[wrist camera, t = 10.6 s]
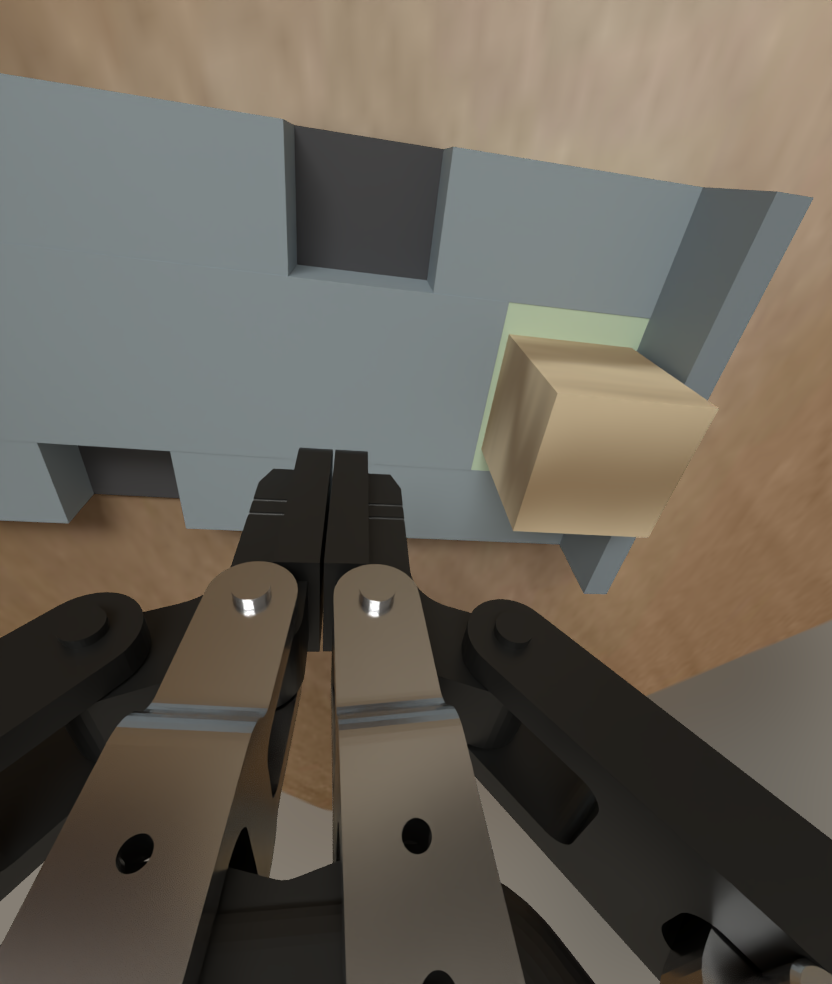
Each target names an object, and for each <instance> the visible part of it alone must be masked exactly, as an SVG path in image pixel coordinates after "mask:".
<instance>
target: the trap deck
mask: <svg viewBox="0 0 832 984" xmlns="http://www.w3.org/2000/svg"><path fill="white" fill-rule="evenodd" d="M812 200H813V198H812V197H806V196H800V195H794V194H788V193H782V192H773V191H756V190H739V189H722V188H705V187H698V186H692V185H685V184H679V183H673V182H667V181H661V180H655V179H648V178H642V177H636V176H630V175H624V174H618V173H611V172H605V171H599V170H593V169H587V168H581V167H574V166H568V165H562V164H556V163H550V162H544V161H537V160H531V159H525V158H519V157H513V156H507V155H500V154H494V153H488V152H482V151H476V150H470V149H464V148H457V147H451V148H447V149H438V148H432V147H426V146H420V145H413V144H407V143H401V142H395V141H389V140H382V139H376V138H370V137H364V136H358V135H351V134H345V133H339V132H333V131H327V130H320V129H314V128H308V127H302V126H295V125H293V124H291V123H289V122H287V121H285V120H284V119H279V118H273V117H266V116H260V115H254V114H248V113H242V112H236V111H229V110H223V109H217V108H211V107H205V106H199V105H192V104H186V103H180V102H174V101H168V100H162V99H155V98H149V97H143V96H137V95H131V94H125V93H118V92H112V91H106V90H100V89H94V88H88V87H82V86H75V85H69V84H63V83H57V82H51V81H45V80H38V79H32V78H26V77H20V76H14V75H8V74H1V73H0V520H3V521H26V522H49V523H69V522H70V521H71V520H72V519H73V518H74V517H75V515H76V514H77V513H78V512H79V511H80V510H81V508H82V507H83V506H84V505H85V504H86V503H87V501H88V500H89V499H90V498H91V497H92V495H93V494H110V495H129V496H148V497H168V498H180V501H181V506H182V511H183V516H184V520H185V525H186V528H189V529H212V530H236V531H243V528H244V525H245V522H246V519H247V516H248V515H249V510H250V507H251V504H252V501H253V500H254V495H255V492H256V489H257V486H258V483H259V481H260V480H261V479H262V478H264V477H265V476H266V475H267V474H268V473H269V472H270V471H271V470H272V469H292V470H294V467H295V463H296V459H297V454H298V450H299V448H300V447H301V448H318V449H333V468H334V459H335V450H353V451H368V473H370V474H389V475H391V476H392V477H393V479H394V480H395V481H396V483H397V484H398V485H399V487H400V488H401V493H402V502H403V511H404V521H405V530H406V538H422V539H445V540H468V541H492V542H515V543H538V544H559V545H560V547H561V549H562V551H563V553H564V555H565V557H566V559H567V561H568V563H569V565H570V567H571V569H572V571H573V573H574V575H575V577H576V579H577V581H578V583H579V585H580V587H581V589H582V591H583V593H584V594H607V592H608V590H609V588H610V586H611V584H612V582H613V580H614V578H615V577H616V575H617V573H618V571H619V569H620V567H621V565H622V563H623V561H624V559H625V557H626V556H627V554H628V552H629V550H630V548H631V546H632V544H633V542H634V540H635V538H636V537H624V536H603V535H583V534H563V533H543V532H523V531H513V530H512V527H511V524H510V522H509V519H508V517H507V514H506V512H505V509H504V506H503V504H502V501H501V499H500V496H499V494H498V491H497V488H496V486H495V483H494V481H493V478H492V476H491V473H490V470H489V468H488V465H487V463H486V460H485V458H484V455H483V452H482V450H481V448H482V444H483V440H484V436H485V432H486V427H487V423H488V419H489V415H490V411H491V407H492V402H493V398H494V394H495V390H496V386H497V382H498V377H499V373H500V369H501V365H502V361H503V357H504V352H505V348H506V344H507V340H508V336H509V334H512V335H521V336H530V337H539V338H548V339H557V340H566V341H575V342H584V343H593V344H602V345H611V346H620V347H629V348H632V349H634V350H635V351H637V352H638V353H640V354H641V355H643V356H644V357H645V358H647V359H648V360H650V361H651V362H653V363H654V364H656V365H657V366H658V367H660V368H661V369H663V370H664V371H666V372H667V373H668V374H670V375H671V376H673V377H674V378H676V379H677V380H679V381H680V382H681V383H683V384H684V385H686V386H687V387H689V388H690V389H692V390H693V391H694V392H696V393H697V394H699V395H700V396H702V397H703V398H705V399H706V400H707V401H708V399H709V397H710V395H711V393H712V391H713V389H714V387H715V385H716V383H717V382H718V380H719V378H720V376H721V374H722V372H723V370H724V368H725V366H726V364H727V362H728V360H729V359H730V357H731V355H732V353H733V351H734V349H735V347H736V345H737V343H738V341H739V339H740V338H741V336H742V334H743V332H744V330H745V328H746V326H747V324H748V322H749V320H750V318H751V316H752V315H753V313H754V311H755V309H756V307H757V305H758V303H759V301H760V299H761V297H762V295H763V294H764V292H765V290H766V288H767V286H768V284H769V282H770V280H771V278H772V276H773V274H774V273H775V271H776V269H777V267H778V265H779V263H780V261H781V259H782V257H783V255H784V253H785V251H786V250H787V248H788V246H789V244H790V242H791V240H792V238H793V236H794V234H795V232H796V230H797V229H798V227H799V225H800V223H801V221H802V219H803V217H804V215H805V213H806V211H807V209H808V207H809V206H810V204H811V202H812Z"/></svg>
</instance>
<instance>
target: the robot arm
mask: <svg viewBox="0 0 832 984" xmlns="http://www.w3.org/2000/svg"><path fill="white" fill-rule="evenodd" d="M322 619H323V651H332V668H331V735H332V795H333V863H332V864H330V865H327V866H325V867H322V868H319V869H317V870H314V871H312V872H309V873H307V874H304V875H302V876H299V877H296V878H293V879H290V880H282V881H281V880H275V879H271V878H269V876H270V870H271V865H272V859H273V853H274V846H275V838H276V827H277V815H278V808H279V802H280V796H281V791H282V786H283V781H284V776H285V771H286V766H287V761H288V756H289V751H290V746H291V741H292V736H293V731H294V726H295V721H296V716H297V711H298V706H299V702H300V697H301V689H302V682H303V679H304V674H305V666H306V658H307V652H319V651H320V640H321V629H322ZM475 777H476V778H477V779H478V780H479V781H480V782H481V783H482V785H483V786H484V787H485V788H486V789H487V790H488V791H489V792H490V794H491V795H492V796H493V797H494V798H495V799H496V800H497V801H498V802H499V804H500V805H501V806H502V807H503V808H504V809H505V810H506V811H507V812H508V813H509V815H510V816H511V817H512V818H513V819H514V820H515V821H516V822H517V823H518V824H519V826H520V827H521V828H522V829H523V830H524V831H525V832H526V833H527V834H528V835H529V837H530V838H531V839H532V840H533V841H534V842H535V843H536V844H537V846H538V847H539V848H540V849H541V850H542V851H543V852H544V853H545V854H546V856H547V857H548V858H549V859H550V860H551V861H552V862H553V863H554V864H555V865H556V867H557V868H558V869H559V870H560V871H561V872H562V873H563V874H564V875H565V877H566V878H567V879H568V880H569V881H570V882H571V883H572V884H573V885H574V886H575V888H576V889H577V890H578V891H579V892H580V893H581V894H582V895H583V897H584V898H585V899H586V900H587V901H588V902H589V903H590V904H591V905H592V906H593V908H594V909H595V910H596V911H597V912H598V913H599V914H600V915H601V916H602V918H603V919H604V920H605V921H606V922H607V923H608V924H609V925H610V926H611V928H612V929H613V930H614V931H615V932H616V933H617V934H618V935H619V936H620V937H621V939H622V940H623V941H624V942H625V943H626V944H627V945H628V946H629V947H630V949H631V950H632V951H633V952H634V953H635V954H636V955H637V956H638V957H639V958H640V960H641V961H642V962H643V963H644V964H645V965H646V966H647V967H648V969H649V970H650V971H651V972H652V973H653V974H654V975H655V976H656V977H657V978H658V980H659V981H660V984H832V840H831V839H830V838H829V837H827V836H826V835H825V834H824V833H822V832H821V831H820V830H819V829H817V828H816V827H814V826H813V825H812V824H811V823H809V822H808V821H807V820H806V819H804V818H803V817H802V816H800V815H799V814H798V813H796V812H795V811H794V810H792V809H791V808H790V807H789V806H787V805H786V804H785V803H784V802H782V801H781V800H779V799H778V798H777V797H776V796H774V795H773V794H772V793H771V792H769V791H768V790H767V789H765V788H764V787H763V786H761V785H760V784H759V783H758V782H756V781H755V780H754V779H752V778H751V777H750V776H748V775H747V774H746V773H744V772H743V771H742V770H741V769H739V768H738V767H737V766H736V765H734V764H733V763H732V762H730V761H729V760H728V759H726V758H725V757H724V756H723V755H721V754H720V753H719V752H717V751H716V750H715V749H713V748H712V747H711V746H709V745H708V744H707V743H706V742H704V741H703V740H702V739H700V738H699V737H698V736H697V735H695V734H694V733H693V732H691V731H690V730H689V729H688V728H686V727H685V726H684V725H682V724H681V723H680V722H678V721H677V720H676V719H675V718H673V717H672V716H671V715H669V714H668V713H666V711H664V710H663V709H662V708H660V707H659V706H658V705H656V704H655V703H654V702H653V701H651V700H650V699H649V698H647V697H646V696H645V695H643V694H642V693H641V692H640V691H638V690H637V689H636V688H634V687H633V686H632V685H630V684H629V683H628V682H627V681H625V680H624V679H623V678H621V677H620V676H619V675H618V674H616V673H615V672H614V671H612V670H611V669H610V668H608V667H607V666H606V665H605V664H603V663H602V662H601V661H599V660H598V659H597V658H595V657H594V656H593V655H592V654H590V653H589V652H588V651H586V650H585V649H584V648H583V647H581V646H580V645H579V644H577V643H576V642H575V641H573V640H572V639H571V638H570V637H568V636H567V635H566V634H564V633H563V632H562V631H560V630H559V629H558V628H557V627H555V626H554V625H553V624H551V623H550V622H549V621H547V620H546V619H545V618H544V617H542V616H541V615H540V614H538V613H537V612H536V611H534V610H533V609H531V608H530V607H528V606H526V605H524V604H521V603H518V602H515V601H511V600H504V599H497V600H490V601H487V602H484V603H482V604H480V605H479V606H477V607H476V608H475V609H474V610H473V612H472V613H469V612H465V611H462V610H458V609H455V608H451V607H448V606H445V605H442V604H440V603H438V602H435V601H433V600H432V599H430V598H429V597H427V596H426V595H425V594H424V593H422V592H421V591H420V590H419V588H418V587H417V586H416V584H415V583H414V581H413V579H412V577H411V573H410V566H409V557H408V548H407V539H406V530H405V521H404V511H403V502H402V493H401V488H400V487H399V485H398V484H397V483H396V481H395V480H394V479H393V477H392V476H391V475H389V474H370V473H368V451H353V450H335V459H334V468H333V449H318V448H301V447H300V448H299V450H298V454H297V459H296V463H295V467H294V470H292V469H272V470H271V471H270V472H269V473H268V474H267V475H266V476H265V477H264V478H262V479H261V480H260V481H259V483H258V486H257V489H256V492H255V495H254V500H253V501H252V504H251V507H250V510H249V515H248V516H247V519H246V522H245V525H244V528H243V531H242V534H241V538H240V541H239V544H238V547H237V550H236V553H235V556H234V559H233V562H232V565H231V567H230V568H228V569H226V570H225V571H223V572H221V573H220V574H219V575H217V576H216V577H215V578H214V579H213V580H212V581H211V582H210V584H209V585H208V587H207V589H206V590H205V592H204V595H202V596H200V597H198V598H195V599H193V600H190V601H187V602H184V603H180V604H176V605H172V606H168V607H163V608H159V609H155V610H150V611H146V612H143V611H142V609H141V607H140V605H139V604H138V603H137V602H136V601H135V600H134V599H132V598H130V597H128V596H126V595H123V594H119V593H109V592H104V593H94V594H89V595H85V596H81V597H77V598H75V599H72V600H70V601H67V602H65V603H63V604H61V605H59V606H57V607H55V608H54V609H52V610H50V611H48V612H46V613H45V614H43V615H41V616H39V617H37V618H36V619H34V620H32V621H30V622H28V623H27V624H25V625H23V626H21V627H19V628H18V629H16V630H14V631H12V632H10V633H9V634H7V635H5V636H3V637H1V638H0V901H1V900H2V899H3V898H4V897H5V896H6V895H8V894H9V893H10V892H11V891H12V890H13V889H14V888H15V887H17V886H18V885H19V884H20V883H21V882H22V881H23V880H24V879H25V878H26V877H27V876H29V875H30V874H31V873H32V872H33V871H34V870H35V869H36V868H37V867H39V866H40V865H41V864H42V863H43V862H44V861H45V862H44V864H43V866H42V868H41V870H40V871H39V873H38V875H37V877H36V879H35V881H34V883H33V885H32V887H31V889H30V891H29V893H28V895H27V897H26V899H25V901H24V902H23V904H22V906H21V908H20V910H19V912H18V914H17V916H16V918H15V919H14V921H13V923H12V925H11V927H10V929H9V931H8V933H7V935H6V937H5V939H4V941H3V942H2V944H1V945H0V984H595V983H594V982H593V980H592V979H591V978H590V977H589V975H588V974H587V973H586V971H585V970H584V969H583V968H582V966H581V965H580V964H579V962H578V961H577V960H576V959H575V957H574V956H573V955H572V954H571V952H570V951H569V950H568V948H567V947H566V946H565V945H564V943H563V942H562V941H561V939H560V938H559V937H558V936H557V934H555V932H554V931H553V930H552V928H551V927H550V926H549V925H548V924H547V923H546V921H545V920H544V919H543V918H542V917H541V916H540V915H539V914H538V913H537V912H536V911H535V910H534V909H533V908H532V907H531V906H530V905H529V904H528V903H527V902H526V901H524V900H523V899H522V898H521V897H519V896H518V895H517V894H516V893H514V892H513V891H512V890H511V889H509V888H508V887H507V886H505V885H504V884H502V883H501V882H500V878H499V874H498V870H497V866H496V862H495V858H494V853H493V849H492V845H491V841H490V837H489V833H488V829H487V825H486V821H485V817H484V812H483V808H482V804H481V800H480V796H479V792H478V788H477V784H476V780H475Z"/></svg>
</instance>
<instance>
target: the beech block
mask: <svg viewBox="0 0 832 984" xmlns="http://www.w3.org/2000/svg"><path fill="white" fill-rule="evenodd" d="M718 409H719V408H718V407H716V406H715V405H713V404H712V403H710V402H709V401H707V400H706V399H705V398H703V397H702V396H700V395H699V394H697V393H696V392H694V391H693V390H692V389H690V388H689V387H687V386H686V385H684V384H683V383H681V382H680V381H679V380H677V379H676V378H674V377H673V376H671V375H670V374H668V373H667V372H666V371H664V370H663V369H661V368H660V367H658V366H657V365H656V364H654V363H653V362H651V361H650V360H648V359H647V358H645V357H644V356H643V355H641V354H640V353H638V352H637V351H635V350H634V349H632V348H629V347H620V346H611V345H602V344H593V343H584V342H575V341H566V340H557V339H548V338H539V337H530V336H521V335H512V334H509V336H508V340H507V344H506V348H505V352H504V357H503V361H502V365H501V369H500V373H499V377H498V382H497V386H496V390H495V394H494V398H493V402H492V407H491V411H490V415H489V419H488V423H487V427H486V432H485V436H484V440H483V444H482V448H481V450H482V452H483V455H484V458H485V460H486V463H487V465H488V468H489V470H490V473H491V476H492V478H493V481H494V483H495V486H496V488H497V491H498V494H499V496H500V499H501V501H502V504H503V506H504V509H505V512H506V514H507V517H508V519H509V522H510V524H511V527H512V530H513V531H523V532H543V533H563V534H583V535H603V536H624V537H644V538H648V537H649V535H650V533H651V532H652V530H653V528H654V526H655V524H656V522H657V521H658V519H659V517H660V515H661V513H662V511H663V510H664V508H665V506H666V504H667V502H668V501H669V499H670V497H671V495H672V493H673V491H674V490H675V488H676V486H677V484H678V482H679V480H680V479H681V477H682V475H683V473H684V471H685V469H686V468H687V466H688V464H689V462H690V460H691V459H692V457H693V455H694V453H695V451H696V449H697V448H698V446H699V444H700V442H701V440H702V438H703V437H704V435H705V433H706V431H707V429H708V428H709V426H710V424H711V422H712V420H713V418H714V417H715V415H716V413H717V411H718Z"/></svg>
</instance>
